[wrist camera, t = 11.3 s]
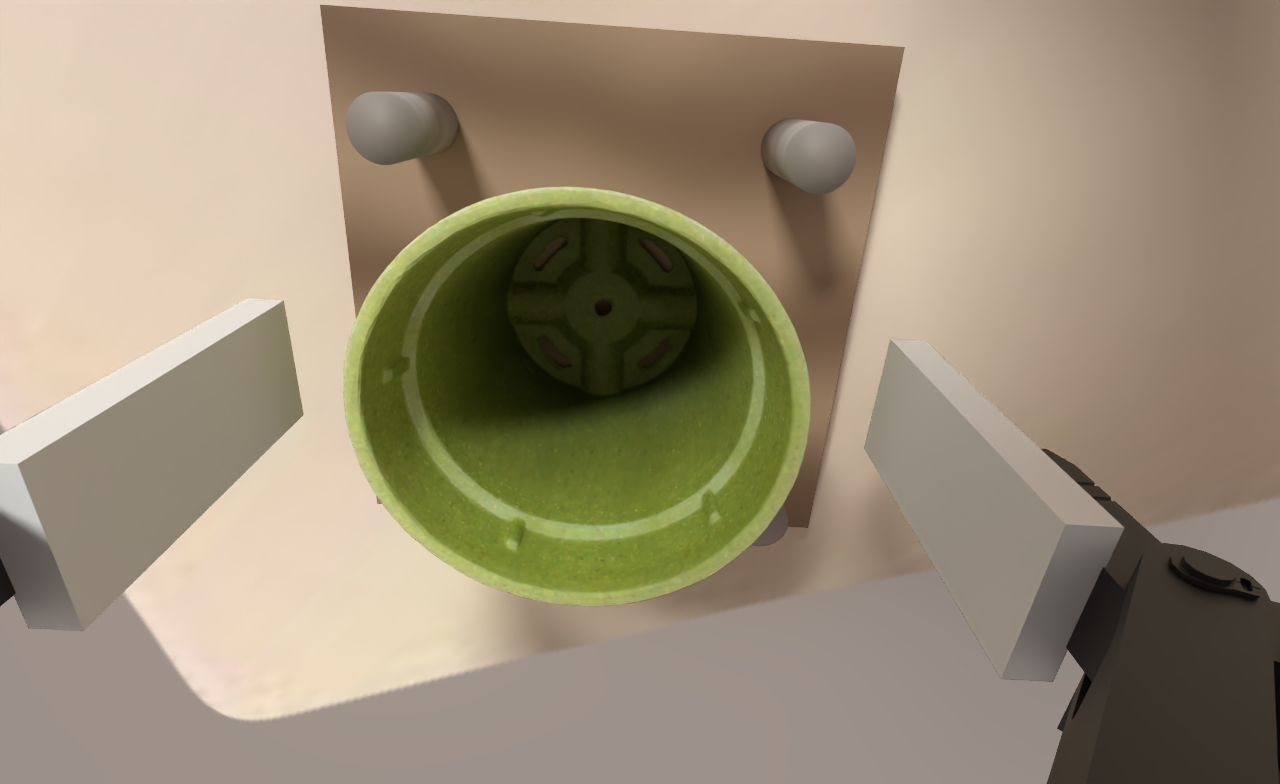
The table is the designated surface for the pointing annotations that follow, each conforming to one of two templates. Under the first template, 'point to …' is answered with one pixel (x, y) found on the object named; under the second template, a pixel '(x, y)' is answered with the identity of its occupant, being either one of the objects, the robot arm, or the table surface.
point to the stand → (623, 151)
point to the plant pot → (576, 397)
